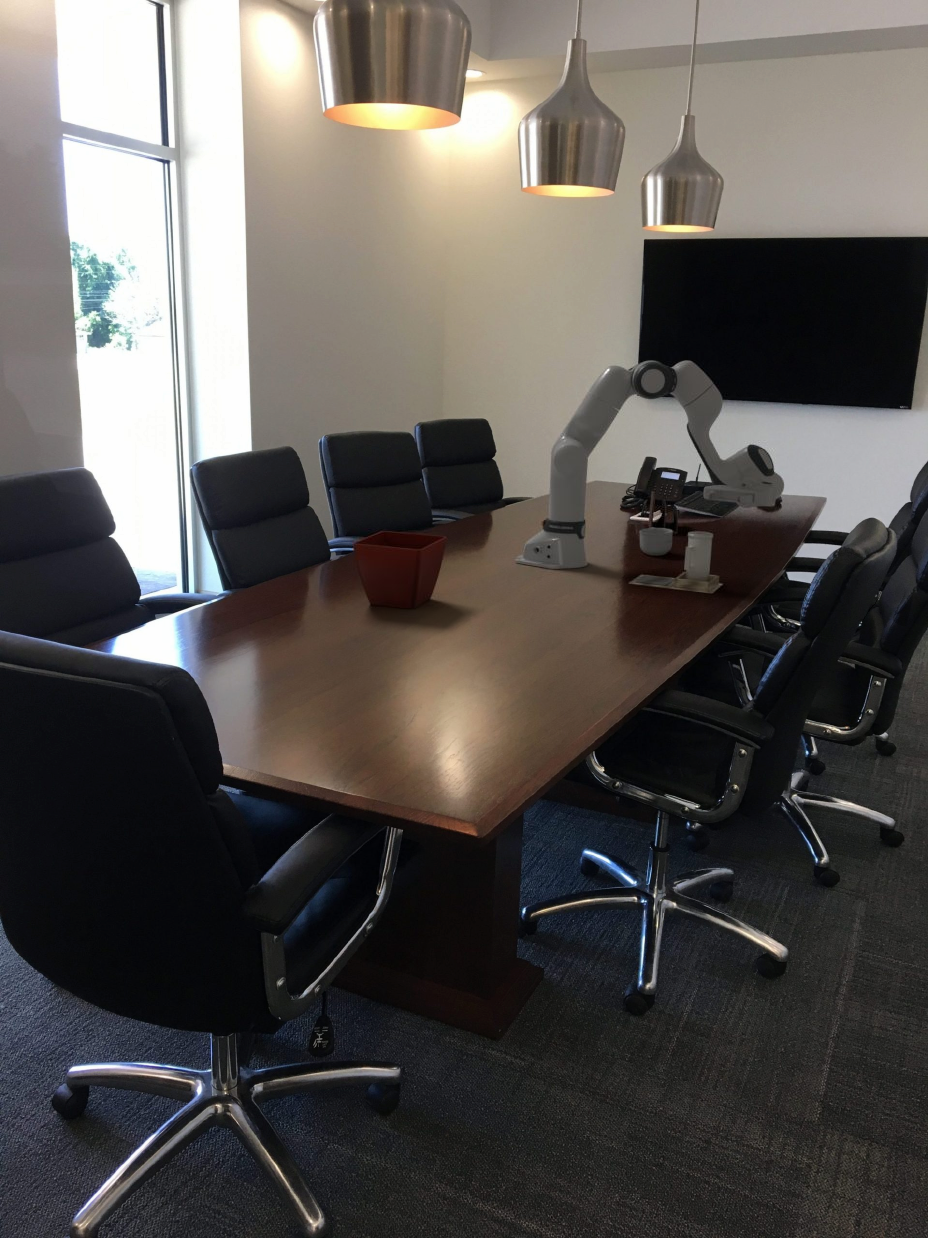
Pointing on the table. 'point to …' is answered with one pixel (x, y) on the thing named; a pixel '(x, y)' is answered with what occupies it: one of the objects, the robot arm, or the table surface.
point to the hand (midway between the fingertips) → (724, 498)
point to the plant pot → (399, 567)
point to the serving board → (679, 583)
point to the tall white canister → (698, 556)
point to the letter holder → (663, 517)
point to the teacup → (655, 541)
